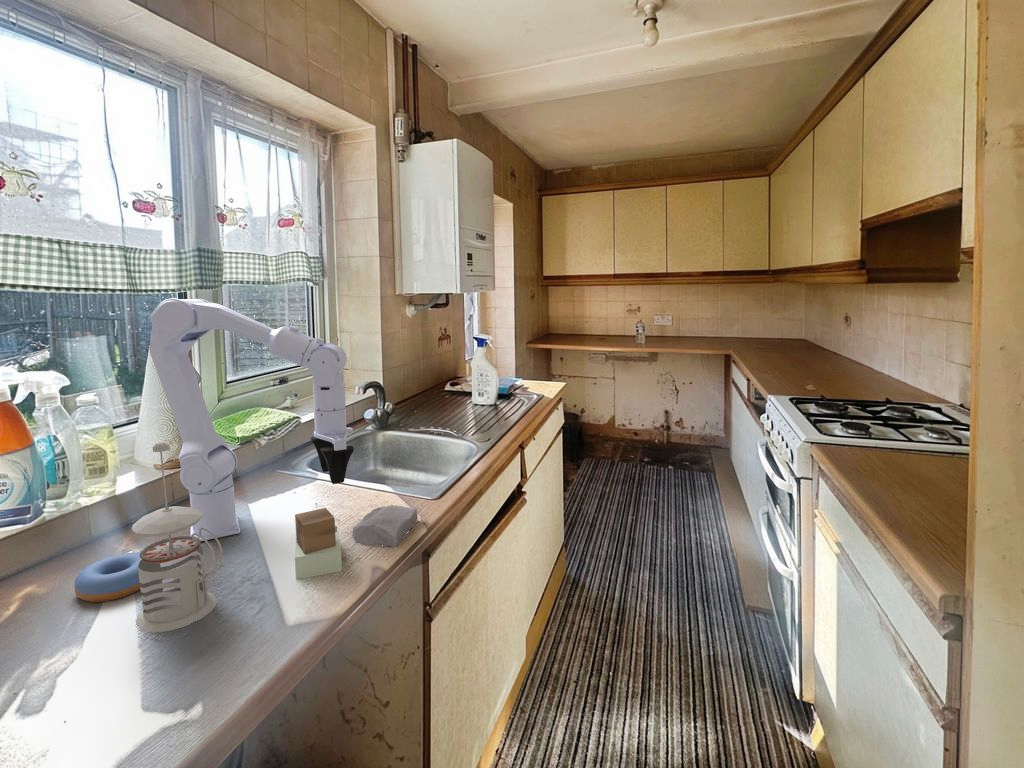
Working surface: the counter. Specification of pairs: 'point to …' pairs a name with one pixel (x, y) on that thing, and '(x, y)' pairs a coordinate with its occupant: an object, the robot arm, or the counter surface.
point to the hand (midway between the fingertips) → (332, 476)
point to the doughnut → (109, 578)
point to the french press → (189, 591)
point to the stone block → (385, 525)
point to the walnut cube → (315, 530)
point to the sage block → (318, 561)
